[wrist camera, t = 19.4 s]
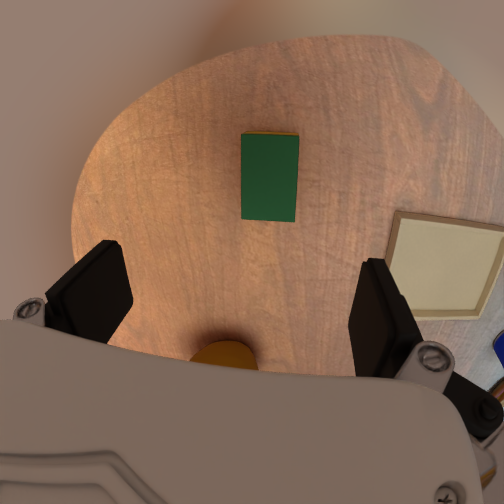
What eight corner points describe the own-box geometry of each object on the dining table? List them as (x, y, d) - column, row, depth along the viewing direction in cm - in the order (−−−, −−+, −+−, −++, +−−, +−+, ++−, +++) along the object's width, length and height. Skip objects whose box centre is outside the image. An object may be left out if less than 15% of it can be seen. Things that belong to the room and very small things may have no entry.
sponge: (246, 131, 27) (240, 134, 24) (298, 133, 27) (299, 136, 24) (246, 207, 31) (241, 219, 28) (294, 209, 30) (294, 222, 27)
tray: (395, 210, 29) (401, 218, 27) (505, 227, 27) (513, 233, 25) (371, 309, 35) (374, 320, 33) (473, 310, 33) (479, 319, 31)
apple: (231, 310, 38) (207, 390, 26) (282, 357, 41) (275, 434, 29) (179, 342, 42) (149, 410, 31) (229, 381, 45) (212, 448, 34)
